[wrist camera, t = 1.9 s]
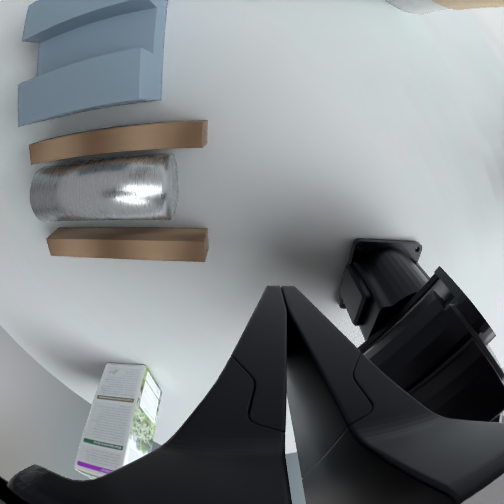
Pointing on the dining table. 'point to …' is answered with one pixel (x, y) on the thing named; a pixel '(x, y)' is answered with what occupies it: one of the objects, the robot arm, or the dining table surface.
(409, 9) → the coffee cup
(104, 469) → the syrup box
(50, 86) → the v block
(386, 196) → the dining table surface
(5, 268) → the dining table surface
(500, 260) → the dining table surface
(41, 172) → the axle
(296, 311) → the robot arm
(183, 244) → the guide channel
